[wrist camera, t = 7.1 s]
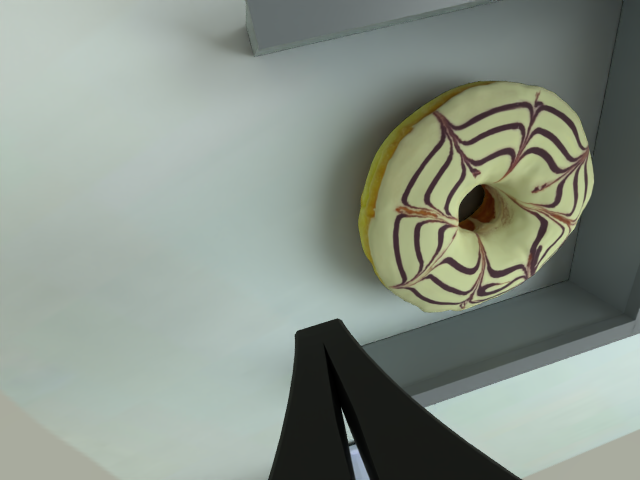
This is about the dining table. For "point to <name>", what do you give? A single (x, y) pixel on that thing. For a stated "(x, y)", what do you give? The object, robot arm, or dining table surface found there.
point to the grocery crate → (592, 242)
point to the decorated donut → (459, 179)
